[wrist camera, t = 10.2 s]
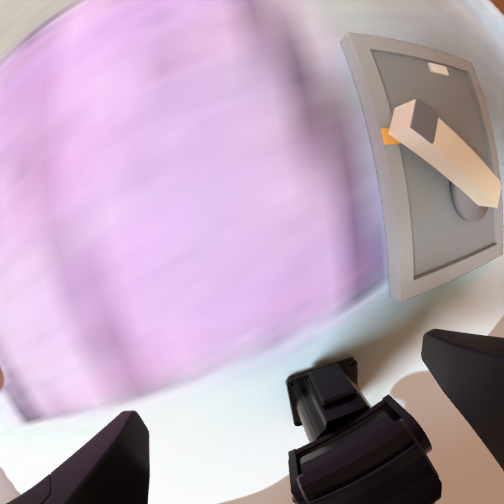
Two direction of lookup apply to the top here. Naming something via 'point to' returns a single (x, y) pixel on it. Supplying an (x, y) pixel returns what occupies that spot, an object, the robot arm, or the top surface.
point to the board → (416, 168)
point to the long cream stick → (447, 158)
